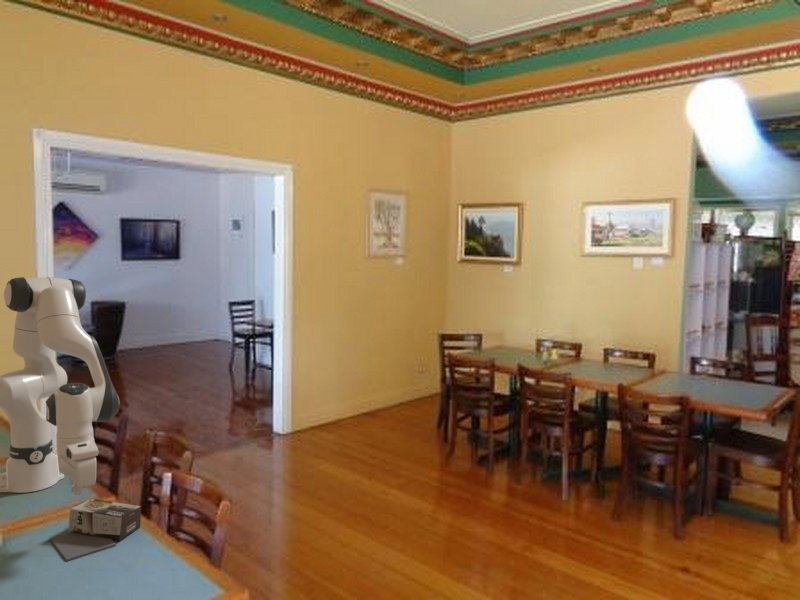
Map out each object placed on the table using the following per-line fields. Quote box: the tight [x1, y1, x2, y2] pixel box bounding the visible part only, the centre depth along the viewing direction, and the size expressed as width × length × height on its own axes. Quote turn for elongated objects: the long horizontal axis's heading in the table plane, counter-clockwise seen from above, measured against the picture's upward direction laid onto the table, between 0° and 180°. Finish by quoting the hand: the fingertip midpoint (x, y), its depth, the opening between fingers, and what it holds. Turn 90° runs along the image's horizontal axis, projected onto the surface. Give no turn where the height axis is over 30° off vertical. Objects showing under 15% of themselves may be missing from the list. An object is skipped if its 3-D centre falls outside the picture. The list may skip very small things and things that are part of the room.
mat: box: [49, 531, 117, 562], centre depth 161 cm, size 15×12×1 cm
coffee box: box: [68, 498, 142, 541], centre depth 167 cm, size 9×6×16 cm
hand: (76, 493), depth 163 cm, fingers closed
